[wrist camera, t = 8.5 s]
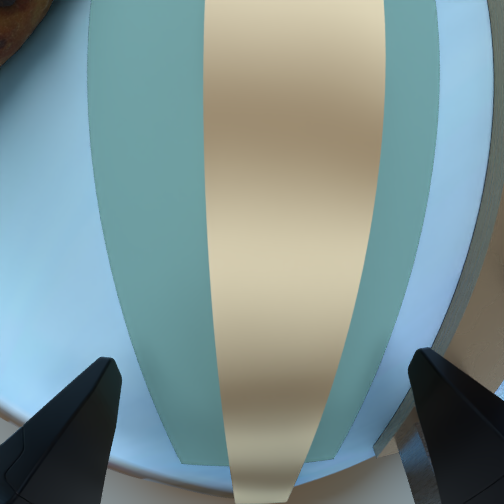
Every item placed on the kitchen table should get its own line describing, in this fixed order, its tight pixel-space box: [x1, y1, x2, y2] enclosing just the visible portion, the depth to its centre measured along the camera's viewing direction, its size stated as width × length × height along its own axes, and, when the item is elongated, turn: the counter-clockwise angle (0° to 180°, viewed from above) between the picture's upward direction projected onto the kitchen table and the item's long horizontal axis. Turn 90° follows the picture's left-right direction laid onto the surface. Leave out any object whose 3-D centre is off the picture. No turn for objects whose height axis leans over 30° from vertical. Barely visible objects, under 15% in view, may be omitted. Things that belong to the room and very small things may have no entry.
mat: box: [87, 0, 440, 466], centre depth 10 cm, size 10×26×1 cm, turn 0°
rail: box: [203, 0, 386, 504], centre depth 9 cm, size 25×3×3 cm, turn 179°
